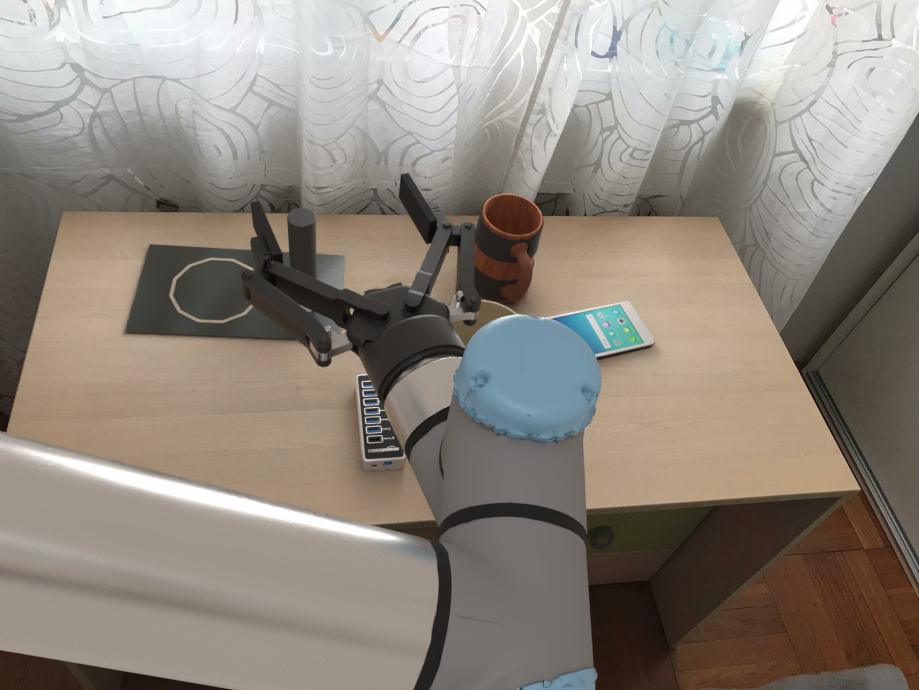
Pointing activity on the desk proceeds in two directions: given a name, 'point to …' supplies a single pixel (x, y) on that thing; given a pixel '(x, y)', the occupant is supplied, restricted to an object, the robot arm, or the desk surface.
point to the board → (210, 293)
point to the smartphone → (609, 329)
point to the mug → (506, 247)
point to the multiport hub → (376, 431)
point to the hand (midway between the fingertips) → (332, 198)
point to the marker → (302, 242)
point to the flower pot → (482, 319)
